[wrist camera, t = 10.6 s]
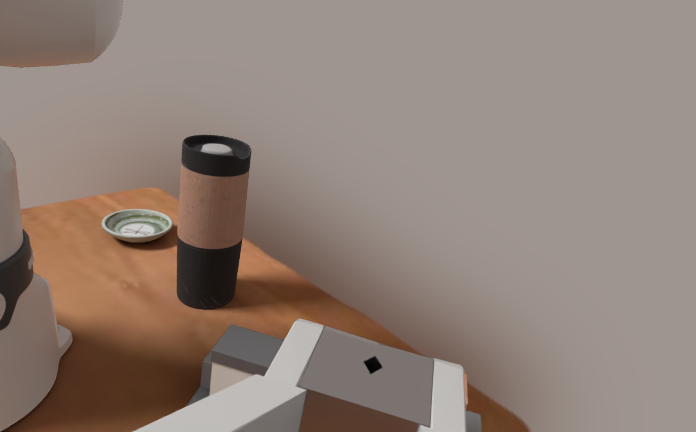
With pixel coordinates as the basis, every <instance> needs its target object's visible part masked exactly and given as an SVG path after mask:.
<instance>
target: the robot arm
mask: <svg viewBox="0 0 696 432" xmlns="http://www.w3.org/2000/svg"><path fill="white" fill-rule="evenodd" d="M122 6H123V0H0V66H9V67H20V68H23V67H40V66H55V65H56V66H57V65H68V64H78V63H88V62H92V61H94V60H95V59H96V58H97V57H99V56H100V55H101V54H102V53H103V52H104V51H105V50H106V48H107V47H108V46H109V45H110V43H111V42H112V40H113V38H114V36H115V35H116V32H117V30H118V27H119V24H120V20H121V16H122ZM33 261H34V258H33V251H32V248H31V245H30V241H29V236H28V234H27V233H26V232H25V231H24V229H22V221H21V211H20V201H19V191H18V182H17V173H16V163H15V159H14V156H13V154H12V152H11V150H10V149H9V147H8V146H7V144H6V143H5V142H4V141H3V140H2V139H1V137H0V431H2V430H4V429H6V428H7V427H9V426H11V425H12V424H14V423H16V422H17V421H18V420H20V419H21V418H23V417H24V416H25V415H27V414H28V413H29V412H30V411H32V410H33V409H34V408H35V407H36V406H37V405H38V404H39V403H40V402H41V401H42V400H43V399H44V397H45V396H46V395H47V394H48V392H49V391H50V389H51V388H52V386H53V384H54V382H55V379H56V377H57V372H58V365H59V361H60V358H61V357H62V356H63V354H64V353H65V352H66V351H67V349H68V348H69V347H70V345H71V344H72V341H73V339H72V334H71V331H70V330H69V329H67V328H65V327H63V326H61V325H59V324H57V321H56V316H55V310H54V305H53V299H52V294H51V289H50V284H49V282H48V280H47V279H45V278H42V277H41V276H39V275H38V274H36V273H34V272H33ZM133 432H467V431H466V408H465V385H464V369H463V367H462V366H461V365H459V364H455V363H451V362H447V361H443V360H439V359H436V358H433V359H432V358H428V357H425V356H421V355H418V354H414V353H411V352H407V351H404V350H400V349H397V348H393V347H390V346H387V345H383V344H380V343H378V342H375V341H372V340H368V339H365V338H362V337H359V336H356V335H353V334H349V333H346V332H343V331H340V330H337V329H334V328H330V327H327V326H326V327H324V325H320V324H317V323H314V322H310V321H307V320H304V319H300V318H299V319H298V320H296V321H295V322H294V324H293V326H292V327H291V329H290V331H289V333H288V335H287V336H286V338H285V340H284V342H283V344H282V345H281V347H280V349H279V351H278V353H277V354H276V356H275V358H274V360H273V361H272V363H271V365H270V367H269V369H268V370H267V372H266V374H265V376H261V375H257V374H255V375H253V376H251V377H249V378H246V379H244V380H242V381H240V382H238V383H236V384H234V385H231V386H229V387H227V388H225V389H223V390H221V391H219V392H216V393H214V394H212V395H210V396H208V397H206V398H204V399H202V400H199V401H197V402H195V403H193V404H191V405H189V406H187V407H184V408H182V409H180V410H178V411H176V412H174V413H172V414H169V415H167V416H165V417H163V418H161V419H159V420H157V421H155V422H152V423H150V424H148V425H146V426H144V427H142V428H140V429H137V430H135V431H133Z"/></svg>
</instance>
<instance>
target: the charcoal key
mask: <svg viewBox="0 0 696 432" xmlns="http://www.w3.org/2000/svg"><path fill="white" fill-rule="evenodd" d="M283 342H284V340H282V339H279V338H276V337H272V336H269V335H266V334H262V333H259V332H256V331H252V330H249V329H246V328H242V327H239V326H236V325H232V324H231V326H230V327H229V328H228V330H227V331H226V332H225V333H224V335H223V336H222V337H221V339H220V340H219V341H218V343H217V344H216V345H215V346H214V348H213V349H212V351H211V362H212V373H211V383H210V394H209V396H210V395H212V394H214V393H216V392H219V391H221V390H223V389H225V388H227V387H229V386H231V385H234V384H236V383H238V382H240V381H242V380H244V379H246V378H249V377H251V376H253V375H255V374H257V375H261V376H265V374H266V372H267V370H268V369H269V367H270V365H271V363H272V361H273V360H274V358H275V356H276V354H277V353H278V351H279V349H280V347H281V345H282V344H283Z"/></svg>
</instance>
